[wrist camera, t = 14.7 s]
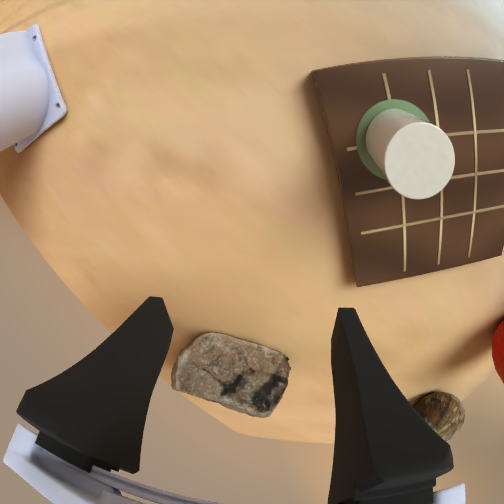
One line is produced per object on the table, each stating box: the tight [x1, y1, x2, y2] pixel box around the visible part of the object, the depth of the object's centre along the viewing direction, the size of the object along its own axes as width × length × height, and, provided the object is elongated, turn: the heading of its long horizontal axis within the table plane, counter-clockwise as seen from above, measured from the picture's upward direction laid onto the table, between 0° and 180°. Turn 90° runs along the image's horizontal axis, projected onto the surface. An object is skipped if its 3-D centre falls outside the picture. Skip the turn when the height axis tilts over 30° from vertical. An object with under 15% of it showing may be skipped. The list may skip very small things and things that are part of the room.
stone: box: [171, 332, 291, 418], centre depth 28 cm, size 7×12×7 cm, turn 80°
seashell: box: [414, 392, 465, 441], centre depth 32 cm, size 11×9×8 cm
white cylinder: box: [366, 109, 455, 199], centre depth 13 cm, size 4×4×4 cm
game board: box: [312, 57, 504, 287], centre depth 16 cm, size 16×14×1 cm
